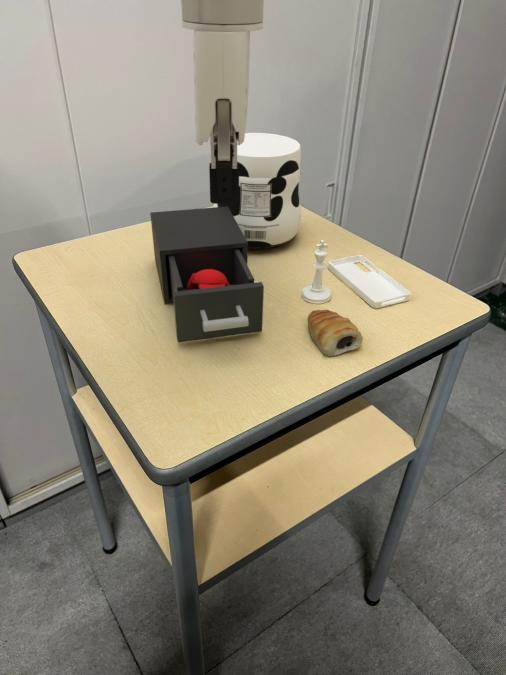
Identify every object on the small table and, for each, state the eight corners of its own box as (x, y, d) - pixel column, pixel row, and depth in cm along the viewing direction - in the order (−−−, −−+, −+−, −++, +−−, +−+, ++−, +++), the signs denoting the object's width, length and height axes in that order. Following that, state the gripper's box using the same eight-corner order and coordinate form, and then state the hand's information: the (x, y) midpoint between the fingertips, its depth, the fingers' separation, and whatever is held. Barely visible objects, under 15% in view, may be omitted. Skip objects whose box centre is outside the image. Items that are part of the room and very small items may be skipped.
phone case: (326, 267, 94) (374, 309, 83) (326, 260, 93) (375, 302, 82) (360, 260, 96) (411, 300, 85) (361, 253, 96) (412, 293, 85)
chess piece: (335, 302, 85) (342, 246, 79) (306, 305, 84) (312, 249, 78) (325, 286, 88) (331, 232, 82) (297, 289, 87) (302, 235, 81)
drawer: (270, 349, 73) (272, 302, 68) (182, 361, 70) (178, 313, 65) (240, 285, 86) (241, 243, 82) (166, 293, 84) (162, 250, 79)
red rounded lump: (182, 296, 81) (180, 262, 78) (218, 288, 83) (217, 255, 80) (199, 323, 75) (198, 287, 72) (237, 314, 77) (237, 279, 74)
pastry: (295, 324, 79) (297, 303, 77) (334, 315, 81) (337, 295, 79) (325, 360, 72) (328, 338, 70) (366, 350, 74) (371, 328, 72)
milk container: (265, 212, 113) (268, 126, 103) (317, 241, 102) (327, 149, 92) (197, 230, 105) (192, 139, 94) (245, 264, 94) (246, 165, 83)
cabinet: (246, 295, 86) (247, 242, 80) (164, 304, 83) (159, 250, 77) (228, 254, 97) (227, 206, 91) (155, 262, 94) (150, 212, 88)
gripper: (186, 2, 53) (194, 177, 64) (175, 16, 41) (187, 229, 52) (258, 3, 54) (254, 178, 65) (269, 18, 42) (261, 229, 53)
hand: (224, 200), depth 58 cm, fingers closed
